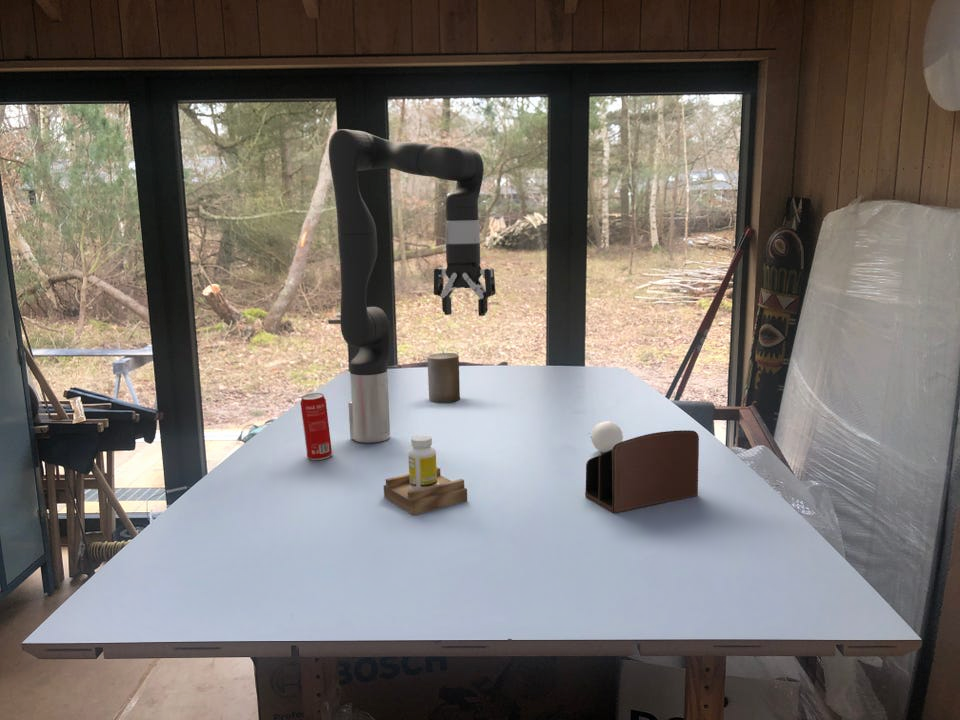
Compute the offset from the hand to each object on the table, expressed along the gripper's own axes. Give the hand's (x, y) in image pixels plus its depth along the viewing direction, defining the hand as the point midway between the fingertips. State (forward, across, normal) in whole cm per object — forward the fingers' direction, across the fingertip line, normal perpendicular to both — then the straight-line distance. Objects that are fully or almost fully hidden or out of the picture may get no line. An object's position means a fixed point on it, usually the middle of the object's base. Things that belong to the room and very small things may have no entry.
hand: (464, 315), depth 169 cm
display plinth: (+33, -4, +27) cm, 43 cm away
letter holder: (+34, -43, +10) cm, 55 cm away
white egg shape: (+33, -27, -16) cm, 46 cm away
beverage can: (+33, +33, +13) cm, 49 cm away
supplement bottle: (+31, -4, +27) cm, 41 cm away
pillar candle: (+33, +33, -49) cm, 68 cm away
